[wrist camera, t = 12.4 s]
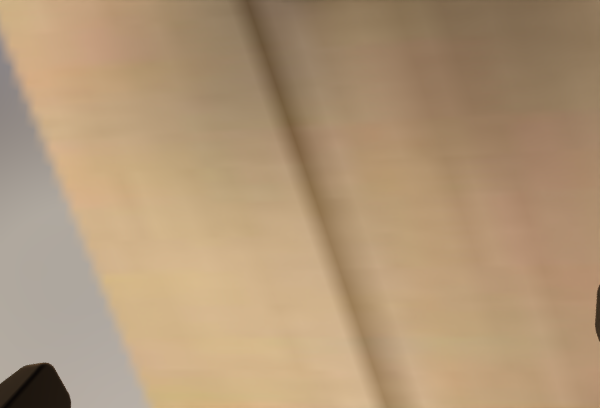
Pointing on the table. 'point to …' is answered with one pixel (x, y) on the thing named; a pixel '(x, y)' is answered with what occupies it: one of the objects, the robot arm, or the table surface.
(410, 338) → the table surface
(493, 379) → the table surface
